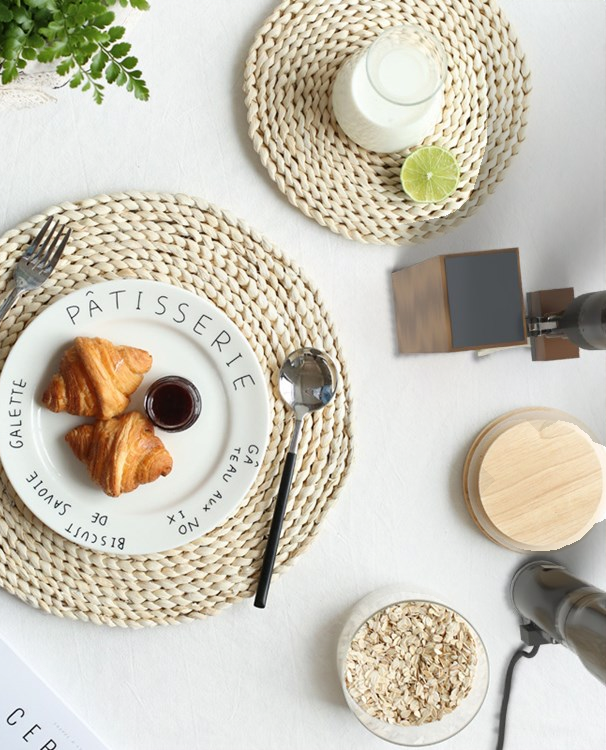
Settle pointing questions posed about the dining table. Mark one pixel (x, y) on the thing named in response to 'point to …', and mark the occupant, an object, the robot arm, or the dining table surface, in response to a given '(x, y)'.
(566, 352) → the brown wooden block
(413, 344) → the stand
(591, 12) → the dining table surface
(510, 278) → the pad
